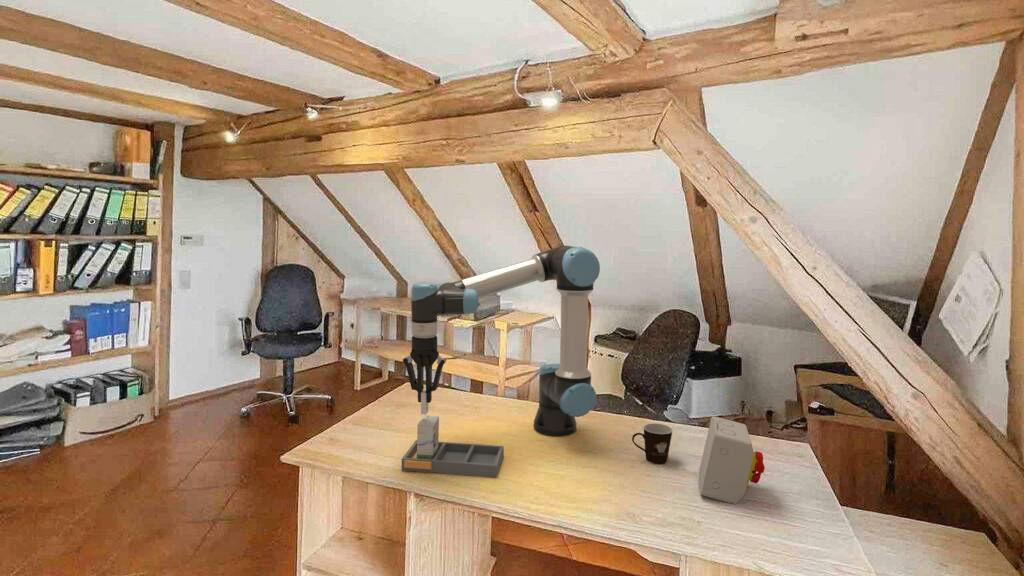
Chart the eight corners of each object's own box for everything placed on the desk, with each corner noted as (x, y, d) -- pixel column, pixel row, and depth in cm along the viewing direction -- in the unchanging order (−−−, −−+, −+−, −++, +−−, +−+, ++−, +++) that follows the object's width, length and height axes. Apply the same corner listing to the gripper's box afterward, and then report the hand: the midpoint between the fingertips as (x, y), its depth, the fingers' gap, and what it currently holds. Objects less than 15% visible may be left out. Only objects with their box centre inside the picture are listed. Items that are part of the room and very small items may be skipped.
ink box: (422, 451, 172) (422, 414, 171) (439, 452, 172) (439, 415, 171) (416, 463, 164) (415, 424, 162) (433, 464, 164) (433, 425, 162)
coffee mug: (671, 456, 174) (673, 425, 173) (669, 467, 166) (671, 435, 165) (634, 450, 178) (635, 420, 177) (630, 461, 170) (631, 430, 169)
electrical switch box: (758, 516, 144) (777, 445, 140) (699, 499, 148) (715, 429, 144) (752, 490, 157) (768, 425, 154) (697, 475, 161) (712, 411, 158)
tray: (503, 456, 172) (503, 445, 172) (496, 478, 158) (496, 466, 157) (416, 450, 176) (416, 440, 175) (401, 471, 161) (400, 459, 161)
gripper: (398, 337, 160) (399, 415, 163) (442, 339, 159) (442, 418, 162) (407, 331, 168) (407, 407, 171) (449, 333, 166) (449, 409, 169)
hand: (424, 412), depth 166 cm, fingers closed
